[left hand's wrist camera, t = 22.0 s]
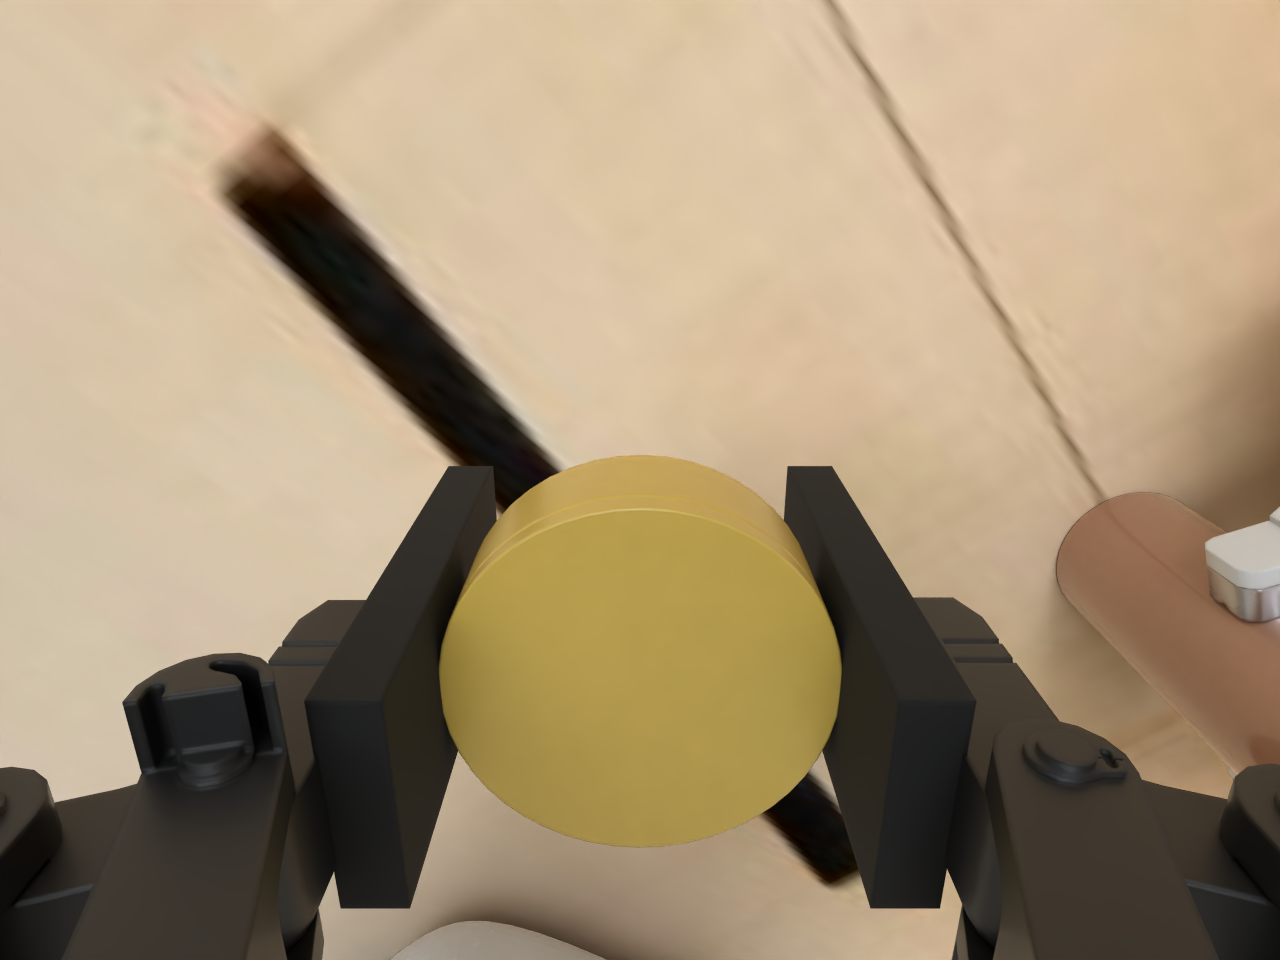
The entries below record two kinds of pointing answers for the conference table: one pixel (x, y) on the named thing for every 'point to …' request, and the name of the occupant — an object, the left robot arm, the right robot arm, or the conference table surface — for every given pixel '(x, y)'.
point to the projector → (490, 944)
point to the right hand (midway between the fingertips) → (1231, 682)
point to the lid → (640, 655)
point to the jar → (1176, 621)
